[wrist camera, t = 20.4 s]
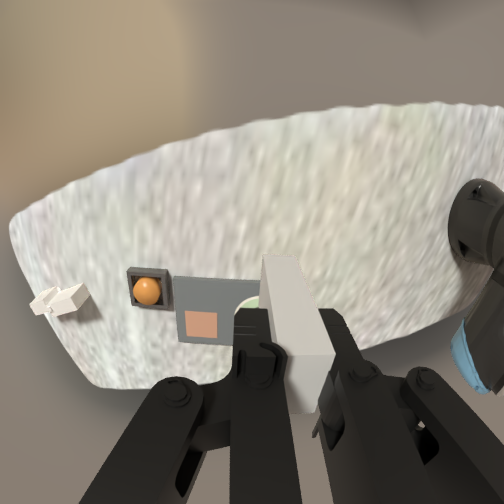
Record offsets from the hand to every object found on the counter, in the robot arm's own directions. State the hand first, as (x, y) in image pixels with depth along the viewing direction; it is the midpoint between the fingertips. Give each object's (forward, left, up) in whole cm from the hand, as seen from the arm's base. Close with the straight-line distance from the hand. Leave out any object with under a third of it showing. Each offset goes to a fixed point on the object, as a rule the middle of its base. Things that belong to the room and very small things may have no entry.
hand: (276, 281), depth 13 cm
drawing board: (+2, +19, -24) cm, 31 cm away
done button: (+15, +15, -25) cm, 33 cm away
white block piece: (+33, +18, -25) cm, 45 cm away
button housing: (+15, +15, -24) cm, 32 cm away
